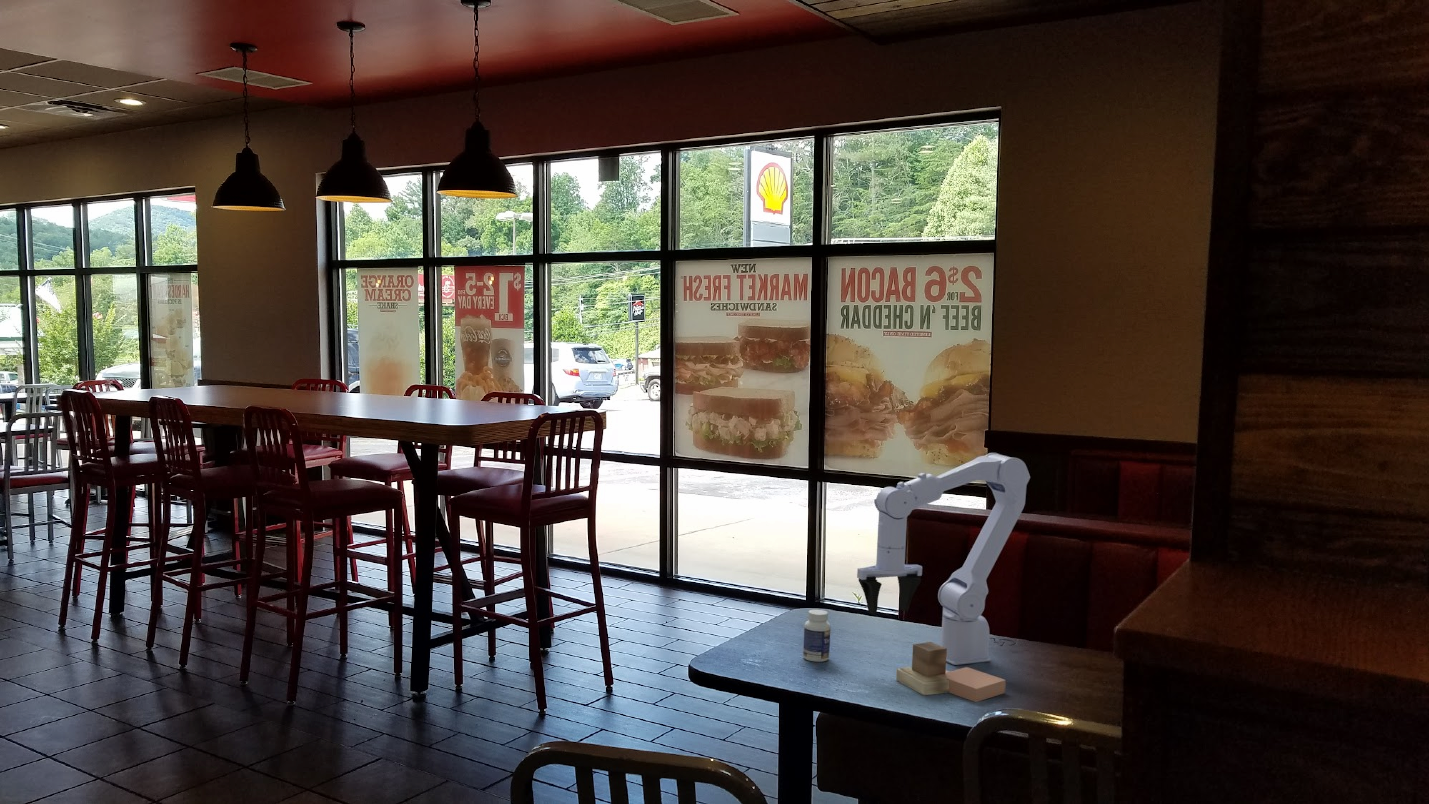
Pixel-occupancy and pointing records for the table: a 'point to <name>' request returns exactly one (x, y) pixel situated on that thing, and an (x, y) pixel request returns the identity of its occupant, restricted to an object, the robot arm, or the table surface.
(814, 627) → the pill bottle
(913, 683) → the birch plinth
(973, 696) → the salmon pink slab
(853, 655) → the table surface
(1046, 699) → the table surface
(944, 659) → the walnut block
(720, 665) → the table surface
